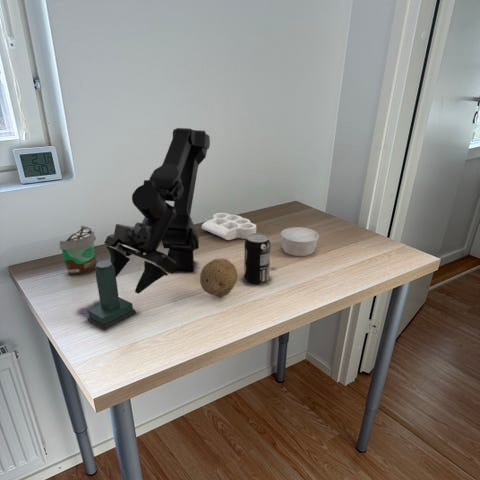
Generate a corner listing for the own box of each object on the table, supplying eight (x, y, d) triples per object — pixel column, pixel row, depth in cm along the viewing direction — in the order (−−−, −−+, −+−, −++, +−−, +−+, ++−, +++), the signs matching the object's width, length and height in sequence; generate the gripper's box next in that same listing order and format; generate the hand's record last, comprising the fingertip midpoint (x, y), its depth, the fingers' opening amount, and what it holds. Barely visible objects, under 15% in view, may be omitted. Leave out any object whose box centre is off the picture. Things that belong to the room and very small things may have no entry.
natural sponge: (223, 310, 110) (223, 271, 104) (193, 299, 114) (191, 262, 108) (243, 294, 116) (244, 257, 111) (214, 285, 120) (213, 249, 115)
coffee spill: (102, 299, 113) (102, 299, 113) (117, 306, 111) (117, 306, 111) (77, 311, 109) (77, 311, 108) (92, 319, 106) (92, 319, 106)
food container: (87, 279, 122) (80, 244, 117) (65, 277, 123) (58, 241, 118) (107, 260, 133) (102, 226, 127) (87, 258, 134) (81, 224, 128)
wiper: (119, 305, 111) (111, 253, 104) (136, 313, 108) (129, 261, 101) (87, 321, 105) (77, 267, 98) (104, 330, 102) (95, 275, 95)
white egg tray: (195, 229, 153) (229, 219, 162) (231, 245, 142) (265, 233, 150) (195, 219, 152) (229, 209, 160) (231, 234, 140) (266, 223, 149)
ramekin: (313, 260, 134) (314, 243, 131) (275, 255, 137) (276, 238, 134) (320, 246, 143) (322, 229, 140) (284, 241, 146) (285, 225, 143)
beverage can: (243, 274, 126) (243, 232, 119) (267, 274, 126) (269, 232, 120) (245, 286, 120) (246, 242, 114) (270, 285, 121) (272, 241, 114)
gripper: (104, 200, 105) (71, 261, 104) (162, 218, 95) (127, 286, 94) (135, 223, 115) (105, 279, 113) (191, 242, 105) (159, 304, 103)
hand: (122, 286), depth 106 cm, fingers open, 9 cm apart
